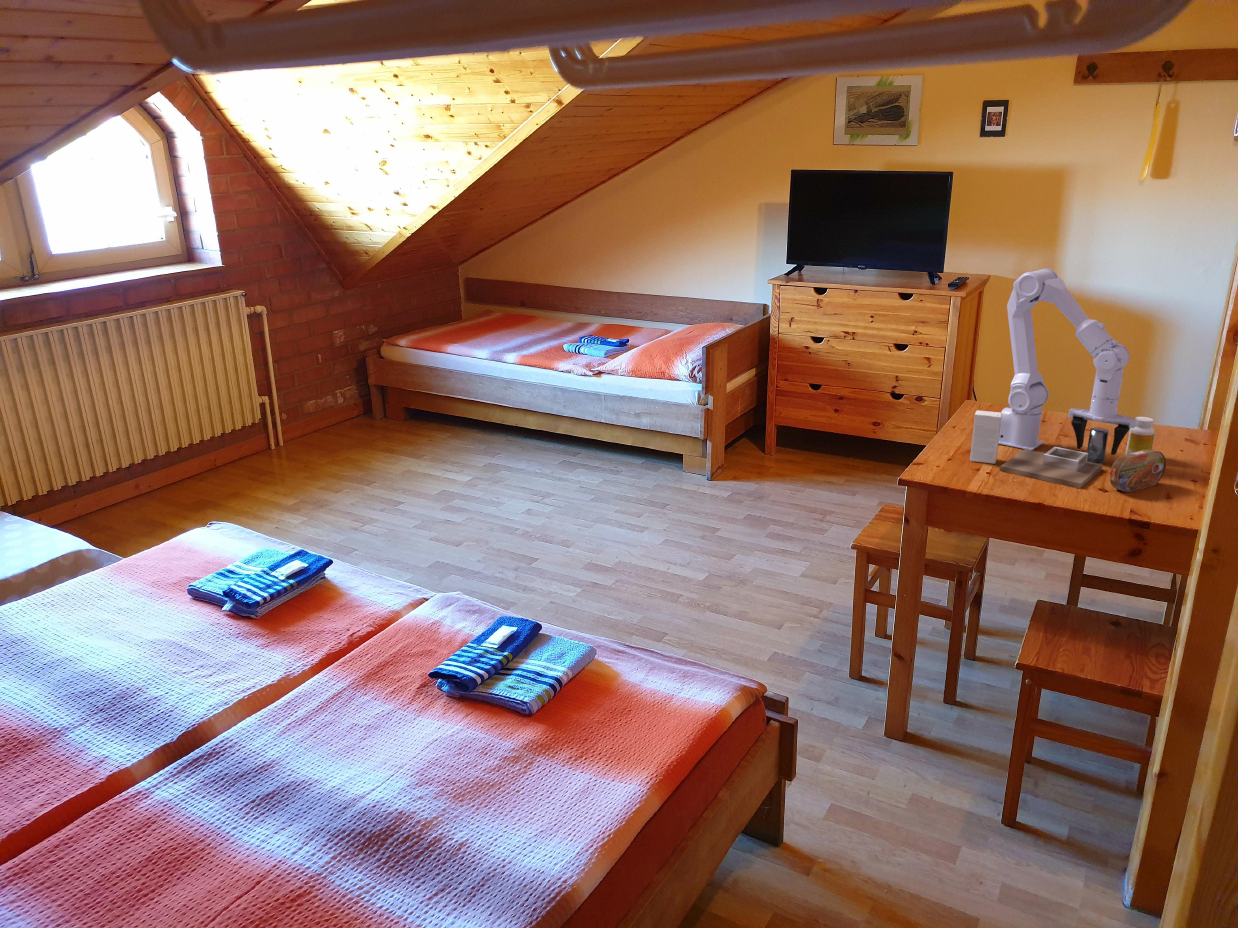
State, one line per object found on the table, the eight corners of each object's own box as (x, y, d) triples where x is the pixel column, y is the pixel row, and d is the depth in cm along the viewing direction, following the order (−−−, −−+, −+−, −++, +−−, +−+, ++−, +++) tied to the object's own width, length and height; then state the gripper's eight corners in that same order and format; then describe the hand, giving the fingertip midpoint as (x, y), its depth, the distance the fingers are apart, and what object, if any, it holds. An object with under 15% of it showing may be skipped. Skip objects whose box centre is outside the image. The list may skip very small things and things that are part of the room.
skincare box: (996, 458, 225) (1002, 412, 221) (995, 464, 221) (1001, 417, 217) (970, 455, 227) (976, 409, 223) (968, 461, 224) (974, 414, 220)
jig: (999, 470, 217) (1001, 456, 216) (1024, 453, 228) (1026, 439, 227) (1080, 488, 206) (1082, 473, 204) (1101, 469, 217) (1104, 454, 215)
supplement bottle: (1153, 460, 222) (1160, 422, 218) (1128, 459, 223) (1136, 421, 219) (1145, 453, 227) (1152, 416, 223) (1122, 452, 228) (1128, 415, 224)
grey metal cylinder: (1083, 461, 222) (1088, 430, 219) (1088, 457, 225) (1093, 426, 222) (1100, 465, 219) (1106, 433, 217) (1105, 460, 222) (1111, 429, 219)
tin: (1116, 495, 202) (1122, 459, 199) (1104, 490, 204) (1110, 455, 201) (1163, 484, 207) (1170, 449, 204) (1151, 480, 210) (1157, 445, 207)
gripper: (1067, 395, 218) (1059, 448, 223) (1134, 405, 209) (1124, 461, 214) (1077, 388, 223) (1068, 441, 228) (1142, 398, 214) (1132, 453, 219)
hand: (1096, 450), depth 221 cm, fingers open, 7 cm apart
